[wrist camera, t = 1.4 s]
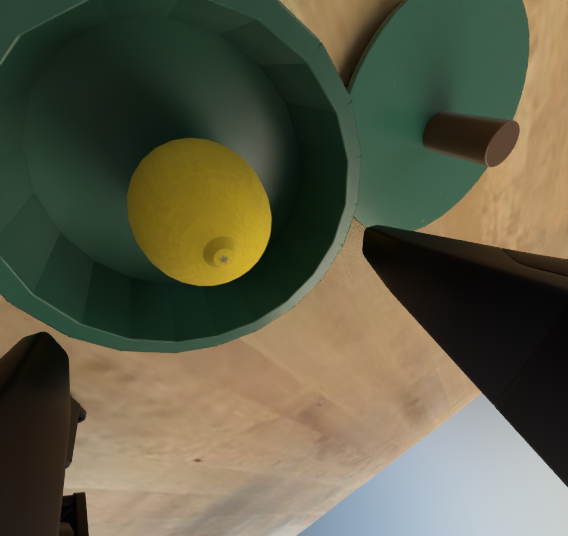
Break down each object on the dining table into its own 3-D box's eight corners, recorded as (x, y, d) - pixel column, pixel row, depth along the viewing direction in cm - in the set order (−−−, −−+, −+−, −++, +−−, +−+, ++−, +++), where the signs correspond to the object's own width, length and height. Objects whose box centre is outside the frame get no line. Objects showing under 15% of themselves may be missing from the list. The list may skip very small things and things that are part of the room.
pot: (103, 319, 18) (94, 394, 14) (-119, 0, 9) (-334, -56, 5) (310, 252, 22) (350, 294, 18) (302, -14, 13) (381, -52, 9)
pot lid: (327, 250, 22) (371, 293, 18) (331, -27, 13) (426, -72, 9) (469, 203, 26) (532, 229, 22) (550, -31, 17) (685, -63, 13)
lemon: (100, 154, 13) (72, 231, 7) (211, 104, 13) (273, 134, 7) (169, 245, 16) (189, 348, 10) (253, 202, 17) (318, 276, 11)
